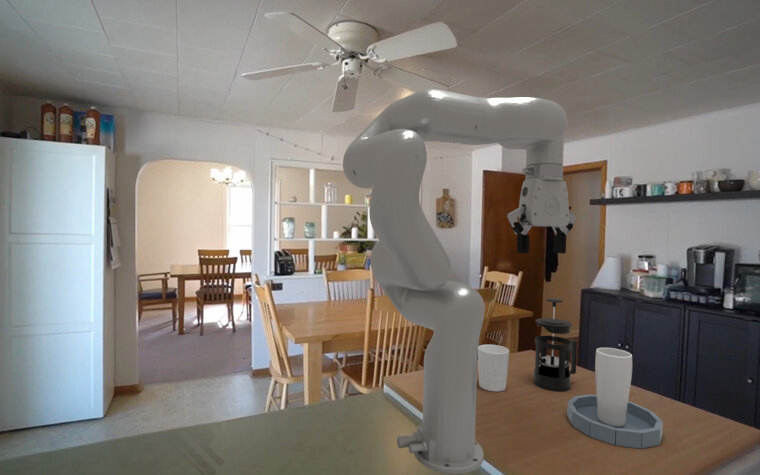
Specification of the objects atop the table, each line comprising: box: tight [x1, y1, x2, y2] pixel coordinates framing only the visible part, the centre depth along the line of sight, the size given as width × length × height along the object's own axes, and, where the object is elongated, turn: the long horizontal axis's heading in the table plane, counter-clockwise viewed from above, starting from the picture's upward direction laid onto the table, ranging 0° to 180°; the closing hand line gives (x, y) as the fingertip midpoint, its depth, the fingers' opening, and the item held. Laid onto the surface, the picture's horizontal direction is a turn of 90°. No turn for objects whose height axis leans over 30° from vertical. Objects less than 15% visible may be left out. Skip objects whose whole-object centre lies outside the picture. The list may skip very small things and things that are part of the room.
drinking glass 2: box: [594, 347, 633, 427], centre depth 85 cm, size 7×7×15 cm
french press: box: [532, 298, 578, 392], centre depth 107 cm, size 12×9×23 cm
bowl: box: [566, 394, 664, 449], centre depth 85 cm, size 17×17×3 cm
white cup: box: [477, 344, 510, 393], centre depth 105 cm, size 8×8×10 cm
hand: (541, 253), depth 88 cm, fingers open, 9 cm apart
